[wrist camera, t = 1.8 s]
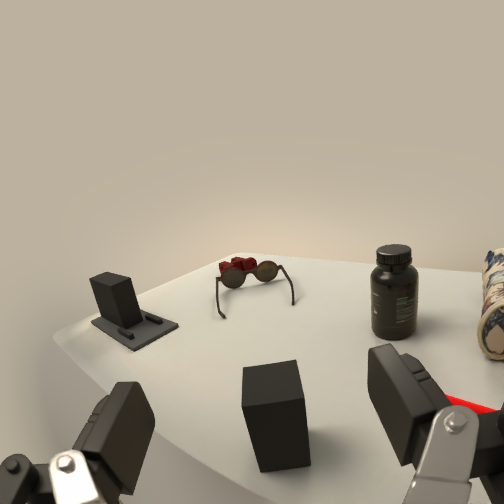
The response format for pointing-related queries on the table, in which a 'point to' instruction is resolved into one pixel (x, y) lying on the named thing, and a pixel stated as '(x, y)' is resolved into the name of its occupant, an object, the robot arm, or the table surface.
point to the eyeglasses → (237, 277)
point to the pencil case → (492, 306)
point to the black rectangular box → (276, 415)
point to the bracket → (239, 264)
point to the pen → (470, 405)
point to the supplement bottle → (394, 293)
